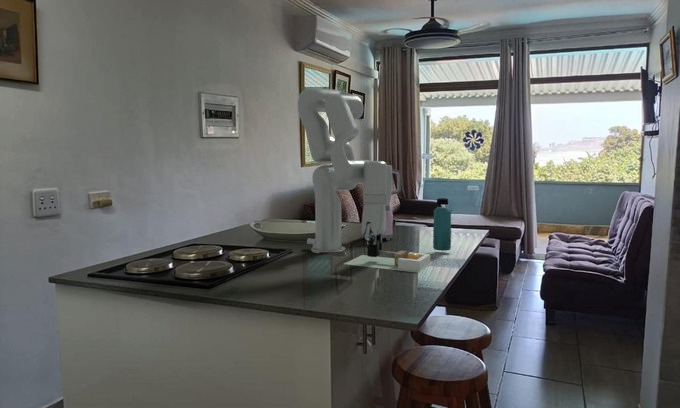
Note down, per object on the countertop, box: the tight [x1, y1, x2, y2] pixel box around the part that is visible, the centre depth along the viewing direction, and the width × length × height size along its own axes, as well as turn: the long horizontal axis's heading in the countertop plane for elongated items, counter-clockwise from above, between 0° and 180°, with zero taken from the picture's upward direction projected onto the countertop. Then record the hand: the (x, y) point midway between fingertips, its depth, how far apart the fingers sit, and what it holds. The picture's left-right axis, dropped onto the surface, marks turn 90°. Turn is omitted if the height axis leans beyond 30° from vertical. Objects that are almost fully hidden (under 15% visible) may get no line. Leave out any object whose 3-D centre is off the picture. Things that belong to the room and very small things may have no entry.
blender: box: [362, 164, 402, 242], centre depth 209 cm, size 16×12×32 cm
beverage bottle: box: [432, 197, 452, 252], centre depth 182 cm, size 6×7×20 cm
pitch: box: [343, 254, 434, 274], centre depth 162 cm, size 25×15×1 cm, turn 64°
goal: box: [398, 251, 431, 272], centre depth 158 cm, size 7×11×3 cm, turn 154°
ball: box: [407, 252, 419, 260], centre depth 158 cm, size 4×4×4 cm
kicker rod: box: [376, 240, 408, 266], centre depth 162 cm, size 12×6×7 cm, turn 64°
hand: (374, 255), depth 164 cm, fingers closed on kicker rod, 3 cm apart
